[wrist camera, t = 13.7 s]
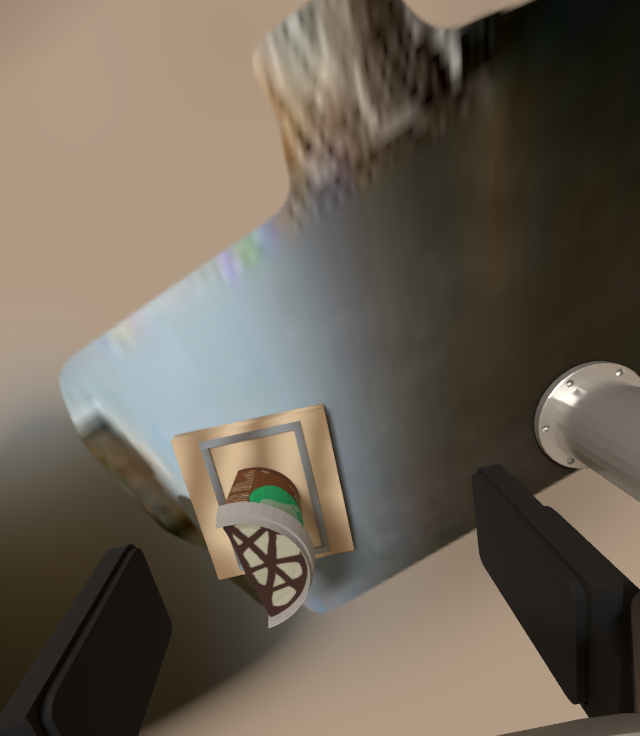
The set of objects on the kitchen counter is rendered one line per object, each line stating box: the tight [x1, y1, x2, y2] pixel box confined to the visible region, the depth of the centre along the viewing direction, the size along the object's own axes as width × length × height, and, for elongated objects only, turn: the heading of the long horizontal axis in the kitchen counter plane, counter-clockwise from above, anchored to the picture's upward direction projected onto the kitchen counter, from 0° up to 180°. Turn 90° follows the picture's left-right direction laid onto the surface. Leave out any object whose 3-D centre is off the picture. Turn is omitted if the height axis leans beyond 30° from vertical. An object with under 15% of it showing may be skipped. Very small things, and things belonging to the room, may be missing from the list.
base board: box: [171, 404, 354, 579], centre depth 41 cm, size 16×18×2 cm
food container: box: [216, 467, 316, 628], centre depth 35 cm, size 12×6×10 cm, turn 20°
